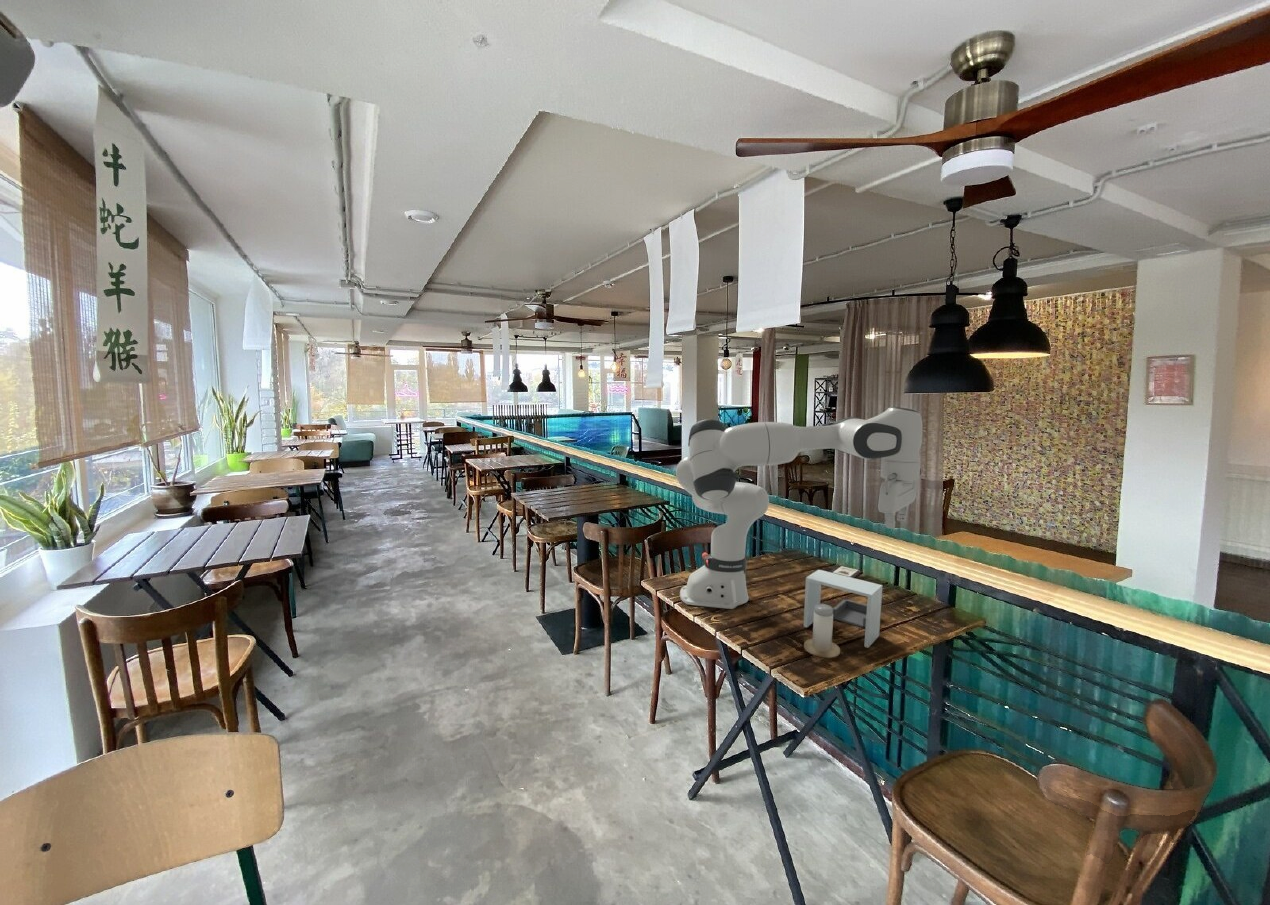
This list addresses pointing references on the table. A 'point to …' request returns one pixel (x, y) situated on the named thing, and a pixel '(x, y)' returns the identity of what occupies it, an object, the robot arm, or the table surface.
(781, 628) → the table surface
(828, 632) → the shaker
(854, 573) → the chocolate bar
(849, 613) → the tray
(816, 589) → the tunnel
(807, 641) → the coaster
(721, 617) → the table surface
